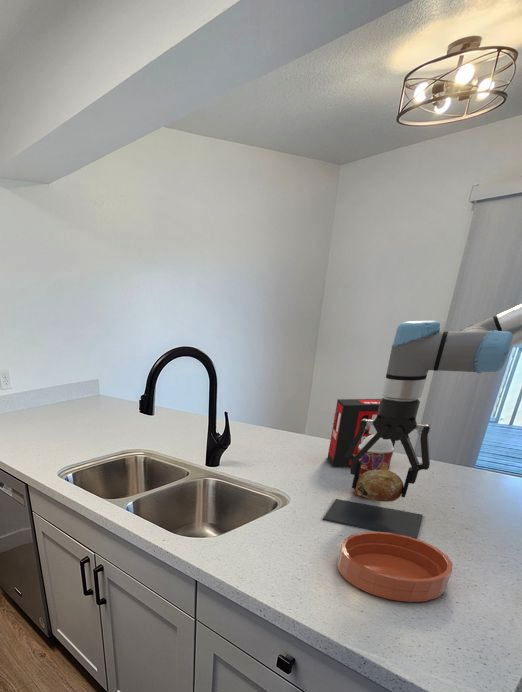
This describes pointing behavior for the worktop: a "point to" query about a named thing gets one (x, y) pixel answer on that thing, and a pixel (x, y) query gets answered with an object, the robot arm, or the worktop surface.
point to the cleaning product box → (350, 427)
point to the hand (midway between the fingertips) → (378, 490)
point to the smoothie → (376, 455)
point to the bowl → (394, 566)
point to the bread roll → (380, 485)
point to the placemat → (374, 518)
